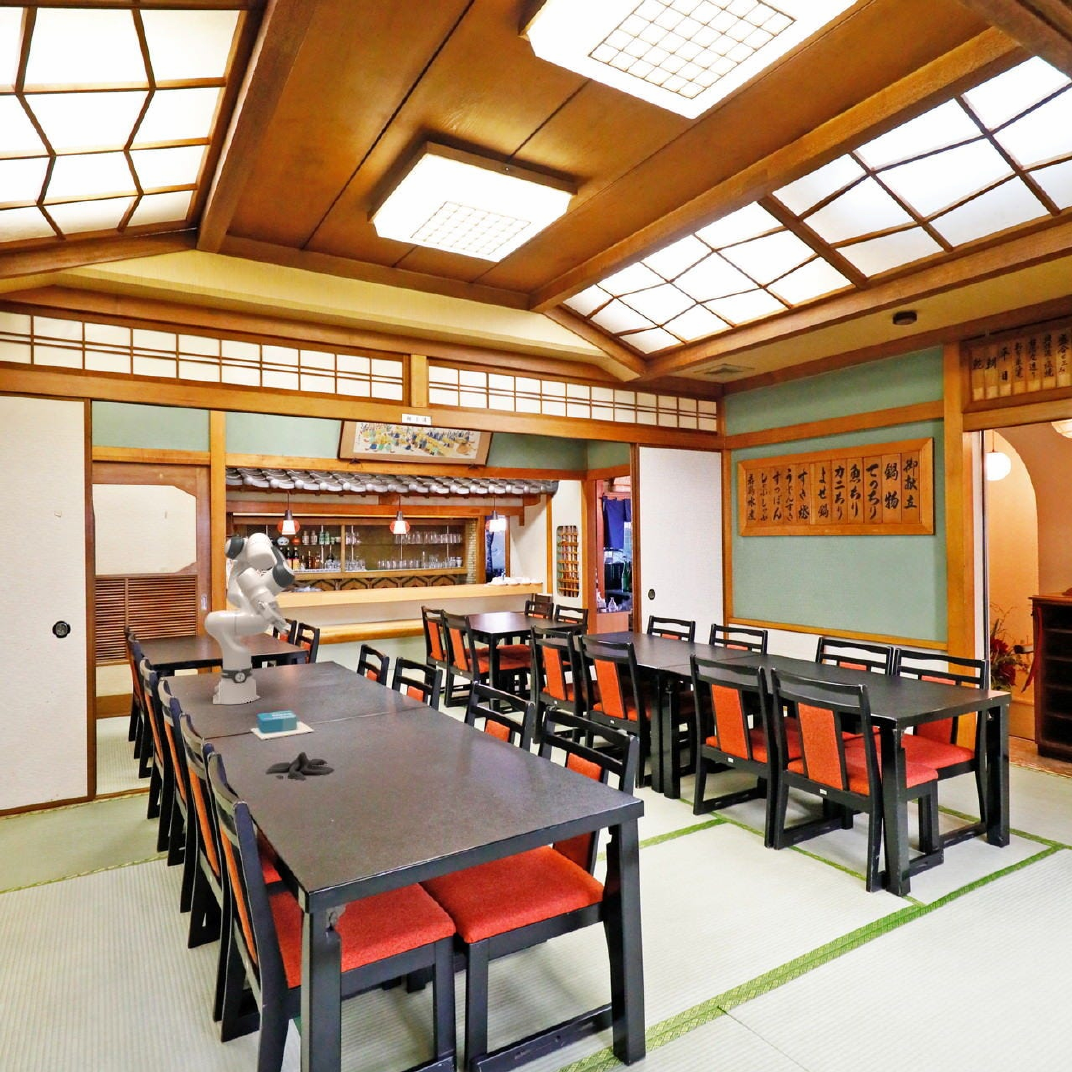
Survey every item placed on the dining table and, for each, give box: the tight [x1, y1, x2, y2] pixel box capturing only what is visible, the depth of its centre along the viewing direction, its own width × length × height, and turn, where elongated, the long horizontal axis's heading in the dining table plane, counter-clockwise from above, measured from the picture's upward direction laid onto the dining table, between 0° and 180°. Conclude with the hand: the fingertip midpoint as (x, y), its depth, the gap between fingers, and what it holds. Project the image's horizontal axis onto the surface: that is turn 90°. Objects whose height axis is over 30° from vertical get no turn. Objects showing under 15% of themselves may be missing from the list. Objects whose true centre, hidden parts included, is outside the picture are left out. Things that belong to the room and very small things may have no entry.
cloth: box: [265, 751, 335, 782], centre depth 203 cm, size 22×19×6 cm
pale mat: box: [249, 721, 315, 741], centre depth 248 cm, size 16×18×1 cm
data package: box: [256, 710, 298, 733], centre depth 251 cm, size 12×4×12 cm
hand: (284, 633), depth 266 cm, fingers closed
